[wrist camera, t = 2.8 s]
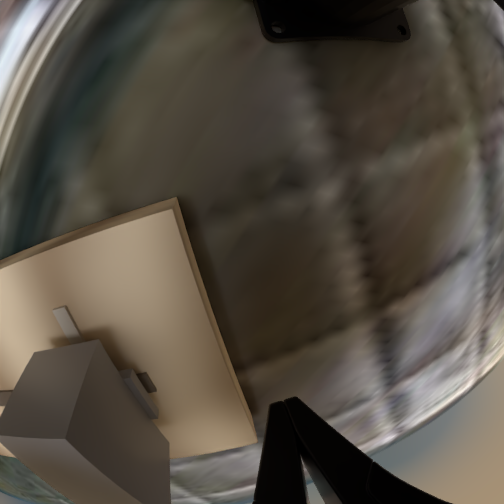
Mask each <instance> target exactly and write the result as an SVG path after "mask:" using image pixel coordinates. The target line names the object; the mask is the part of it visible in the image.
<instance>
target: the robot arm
mask: <svg viewBox="0 0 504 504" xmlns="http://www.w3.org/2000/svg"><path fill="white" fill-rule="evenodd" d="M416 1H418V0H253V2H254V5H255V9H256V12H257V16H258V19H259V23H260V26H261V30H262V33H263V35H264V36H265V37H266V38H267V39H268V40H270V41H273V42H286V41H299V40H320V39H358V40H379V41H392V42H403V41H406V40H408V39H409V38H410V36H411V33H410V29H409V26H408V23H407V20H406V17H405V14H404V11H403V7H405V6H407V5H410V4H412V3H414V2H416ZM494 1H495V2H496V3H497V4H498V5H499V6H500V7H501V8H502V9H503V10H504V0H494ZM272 25H278V26H280V27H281V29H282V33H276V32H275V31H273V30H272V28H271V26H272ZM397 28H398V29H399V30H400V32H401V34H400V33H399V32H398V30H397ZM301 458H302V460H301ZM302 461H303V463H304V465H305V467H306V469H307V471H308V472H309V474H310V476H311V478H312V480H313V482H314V484H315V486H316V487H317V489H318V491H319V493H320V495H321V497H322V499H323V500H324V502H325V504H452V503H449V502H446V501H444V500H441V499H438V498H437V497H435V496H432V495H430V494H428V493H426V492H424V491H422V490H420V489H418V488H416V487H414V486H412V485H410V484H408V483H406V482H405V481H403V480H401V479H399V478H398V477H396V476H394V475H393V474H391V473H390V472H389V471H387V470H386V469H384V468H383V467H382V466H380V465H379V464H378V463H376V462H373V460H372V459H371V458H370V457H368V456H367V455H366V454H365V453H363V452H362V451H361V450H359V449H358V448H357V447H356V446H354V445H353V444H352V443H351V442H350V441H348V440H347V439H346V438H345V437H343V436H342V435H341V434H340V433H339V432H337V431H336V430H335V429H334V428H333V427H331V426H330V425H329V424H328V423H327V422H325V421H324V420H323V419H322V418H321V417H320V416H318V415H317V414H316V413H315V412H314V411H313V410H312V409H310V408H309V407H308V406H307V405H306V404H305V403H304V402H302V401H301V400H300V399H299V398H298V397H291V398H288V399H285V400H284V402H283V401H278V402H275V403H271V404H270V405H269V410H268V417H267V423H266V430H265V436H264V442H263V448H262V454H261V460H260V466H259V471H258V477H257V483H256V488H255V493H254V501H253V503H252V504H310V502H309V497H308V492H307V486H306V480H305V475H304V470H303V465H302Z"/></svg>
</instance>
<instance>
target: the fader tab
mask: <svg viewBox="0 0 504 504" xmlns="http://www.w3.org/2000/svg"><path fill="white" fill-rule="evenodd" d="M158 415H159V409H158V408H157V406H156V405H155V403H154V402H153V400H152V399H151V397H150V396H149V394H148V393H147V391H146V390H145V388H144V387H143V385H142V383H141V382H140V380H139V379H138V377H137V375H136V374H135V372H134V370H133V369H126V370H121V371H118V370H117V369H116V367H115V366H114V364H113V362H112V361H111V359H110V357H109V356H108V354H107V352H106V351H105V349H104V347H103V346H102V344H101V342H100V340H99V339H97V340H92V341H88V342H83V343H78V344H73V345H68V346H63V347H58V348H53V349H48V350H42V351H37V352H34V353H33V355H32V357H31V358H30V360H29V362H28V364H27V365H26V367H25V369H24V371H23V373H22V374H21V376H20V378H19V380H18V382H17V384H16V386H15V388H14V390H13V391H12V393H11V395H10V397H9V399H8V401H7V403H6V406H5V408H4V410H3V412H2V414H1V416H0V443H1V444H2V445H3V446H4V447H5V448H6V449H8V450H9V451H10V452H11V453H12V454H13V455H14V456H15V457H16V458H17V459H18V460H19V461H21V462H22V463H23V464H24V465H25V466H26V467H28V468H29V469H30V470H31V471H32V472H33V473H35V474H36V475H37V476H38V477H40V478H41V479H42V480H43V481H45V482H46V483H47V484H49V485H50V486H51V487H53V488H54V489H55V490H57V491H58V492H60V493H61V494H62V495H64V496H65V497H67V498H68V499H70V500H71V501H73V502H74V503H76V504H171V494H170V443H169V442H168V440H167V439H166V438H165V437H164V435H163V434H162V433H161V432H160V430H159V429H158V428H157V426H156V425H155V424H154V422H153V421H152V420H153V419H158Z"/></svg>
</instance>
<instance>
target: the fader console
mask: <svg viewBox="0 0 504 504" xmlns="http://www.w3.org/2000/svg"><path fill="white" fill-rule="evenodd" d="M97 339H99V340H100V342H101V344H102V346H103V347H104V349H105V351H106V352H107V354H108V356H109V357H110V359H111V361H112V362H113V364H114V366H115V367H116V369H117V370H118V371H121V370H126V369H133V370H134V372H135V374H136V375H137V377H138V379H139V380H140V382H141V383H142V385H143V387H144V388H145V390H146V391H147V393H148V394H149V396H150V397H151V399H152V400H153V402H154V403H155V405H156V406H157V408H158V409H159V415H158V419H153V420H152V421H153V422H154V424H155V425H156V426H157V428H158V429H159V430H160V432H161V433H162V434H163V435H164V437H165V438H166V439H167V440H168V442H169V443H170V459H174V458H182V457H189V456H195V455H201V454H207V453H213V452H218V451H223V450H228V449H233V448H237V447H242V446H246V445H250V444H254V443H258V439H257V436H256V432H255V428H254V423H253V419H252V415H251V413H250V410H249V408H248V405H247V403H246V400H245V398H244V395H243V392H242V390H241V387H240V385H239V382H238V380H237V377H236V374H235V372H234V369H233V366H232V364H231V361H230V358H229V356H228V353H227V350H226V347H225V345H224V342H223V339H222V336H221V334H220V331H219V328H218V325H217V322H216V319H215V317H214V314H213V311H212V308H211V305H210V302H209V299H208V296H207V293H206V290H205V287H204V284H203V281H202V278H201V275H200V272H199V269H198V266H197V263H196V259H195V256H194V253H193V250H192V247H191V243H190V240H189V237H188V234H187V230H186V227H185V224H184V220H183V217H182V213H181V210H180V207H179V203H178V200H177V197H175V198H171V199H168V200H164V201H161V202H158V203H155V204H151V205H148V206H145V207H142V208H139V209H136V210H132V211H129V212H126V213H123V214H120V215H117V216H114V217H111V218H108V219H105V220H103V221H100V222H97V223H94V224H91V225H88V226H86V227H83V228H80V229H77V230H75V231H72V232H69V233H66V234H64V235H61V236H59V237H56V238H53V239H51V240H48V241H46V242H43V243H41V244H38V245H36V246H33V247H31V248H28V249H26V250H23V251H21V252H19V253H16V254H14V255H12V256H9V257H7V258H5V259H2V260H0V416H1V414H2V412H3V410H4V408H5V406H6V403H7V401H8V399H9V397H10V395H11V393H12V391H13V390H14V388H15V386H16V384H17V382H18V380H19V378H20V376H21V374H22V373H23V371H24V369H25V367H26V365H27V364H28V362H29V360H30V358H31V357H32V355H33V353H34V352H37V351H42V350H48V349H53V348H58V347H63V346H68V345H73V344H78V343H83V342H88V341H92V340H97ZM0 455H4V456H10V457H15V456H14V455H13V454H12V453H11V452H10V451H9V450H8V449H6V448H5V447H4V446H3V445H2V444H1V443H0Z"/></svg>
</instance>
